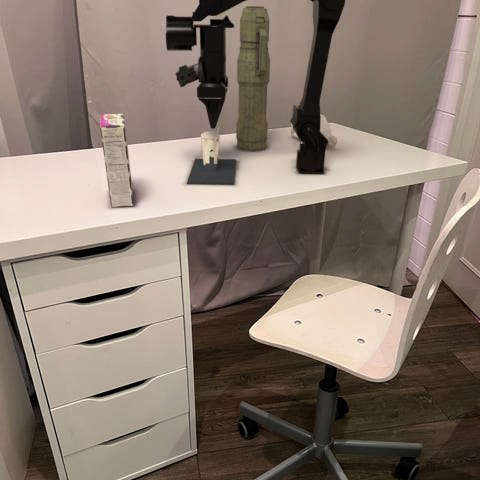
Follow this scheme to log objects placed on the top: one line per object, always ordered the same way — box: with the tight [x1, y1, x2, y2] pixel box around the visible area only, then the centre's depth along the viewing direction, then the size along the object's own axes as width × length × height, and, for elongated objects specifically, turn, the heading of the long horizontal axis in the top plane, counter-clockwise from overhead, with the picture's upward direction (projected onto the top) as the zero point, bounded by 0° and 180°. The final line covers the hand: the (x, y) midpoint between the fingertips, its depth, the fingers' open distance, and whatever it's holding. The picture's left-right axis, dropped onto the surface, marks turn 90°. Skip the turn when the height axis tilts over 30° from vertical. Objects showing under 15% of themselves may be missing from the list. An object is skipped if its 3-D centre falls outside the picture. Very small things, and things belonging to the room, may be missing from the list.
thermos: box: [235, 5, 271, 152], centre depth 141 cm, size 9×12×35 cm
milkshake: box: [200, 125, 221, 172], centre depth 127 cm, size 5×5×10 cm
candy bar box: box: [99, 113, 135, 209], centre depth 107 cm, size 11×5×16 cm, turn 12°
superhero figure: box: [290, 113, 338, 148], centre depth 153 cm, size 10×9×20 cm
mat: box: [186, 158, 237, 186], centre depth 129 cm, size 11×20×1 cm, turn 179°
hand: (214, 124), depth 124 cm, fingers open, 9 cm apart
